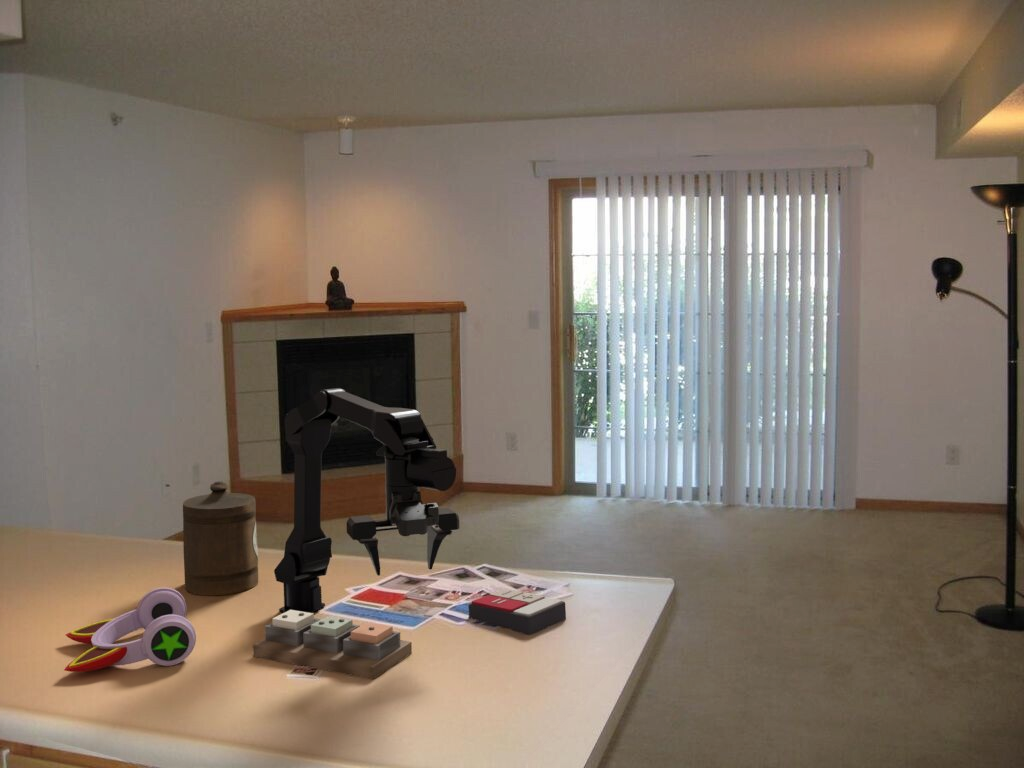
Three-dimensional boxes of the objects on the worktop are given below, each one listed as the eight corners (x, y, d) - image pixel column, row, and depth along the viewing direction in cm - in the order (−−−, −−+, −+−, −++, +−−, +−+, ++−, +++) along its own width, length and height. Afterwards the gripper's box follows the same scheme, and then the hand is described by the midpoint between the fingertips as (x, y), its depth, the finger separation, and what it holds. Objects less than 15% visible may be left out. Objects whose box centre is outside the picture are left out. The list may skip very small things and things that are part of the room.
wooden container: (273, 581, 211) (269, 479, 209) (218, 600, 199) (214, 492, 196) (225, 570, 219) (221, 472, 217) (169, 589, 206) (164, 484, 204)
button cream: (272, 629, 171) (272, 617, 171) (290, 620, 176) (290, 608, 176) (296, 634, 169) (296, 621, 169) (314, 624, 174) (313, 612, 173)
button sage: (311, 636, 168) (310, 623, 168) (328, 626, 172) (328, 614, 172) (335, 640, 166) (335, 628, 166) (352, 631, 170) (352, 618, 170)
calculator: (505, 586, 196) (566, 597, 186) (506, 607, 196) (567, 620, 186) (467, 600, 187) (529, 613, 178) (468, 622, 188) (530, 636, 178)
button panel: (253, 656, 169) (252, 630, 169) (296, 633, 180) (295, 609, 180) (373, 679, 159) (372, 652, 159) (411, 653, 170) (411, 627, 169)
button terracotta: (350, 643, 165) (350, 630, 164) (367, 633, 169) (367, 621, 169) (376, 648, 162) (376, 634, 162) (392, 637, 167) (392, 625, 167)
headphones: (199, 618, 166) (68, 620, 158) (193, 675, 167) (63, 681, 159) (187, 584, 184) (69, 585, 176) (182, 636, 185) (64, 640, 177)
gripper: (358, 497, 160) (361, 592, 162) (468, 487, 167) (470, 578, 169) (344, 484, 171) (347, 573, 172) (449, 475, 177) (450, 561, 179)
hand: (404, 572), depth 173 cm, fingers open, 9 cm apart
